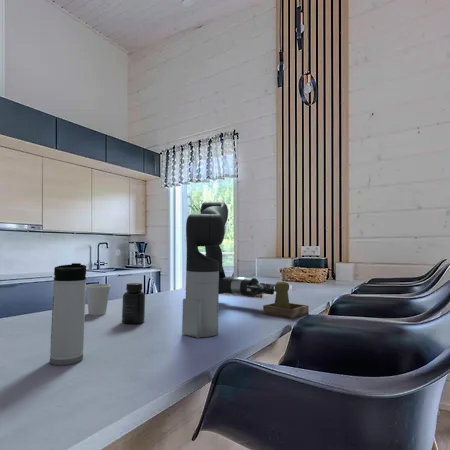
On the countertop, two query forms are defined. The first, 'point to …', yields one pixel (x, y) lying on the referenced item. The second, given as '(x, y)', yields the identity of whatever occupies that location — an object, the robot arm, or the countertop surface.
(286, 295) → the cork
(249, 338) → the countertop surface
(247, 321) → the countertop surface
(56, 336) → the travel mug
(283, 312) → the box
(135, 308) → the supplement bottle
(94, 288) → the dixie cup
